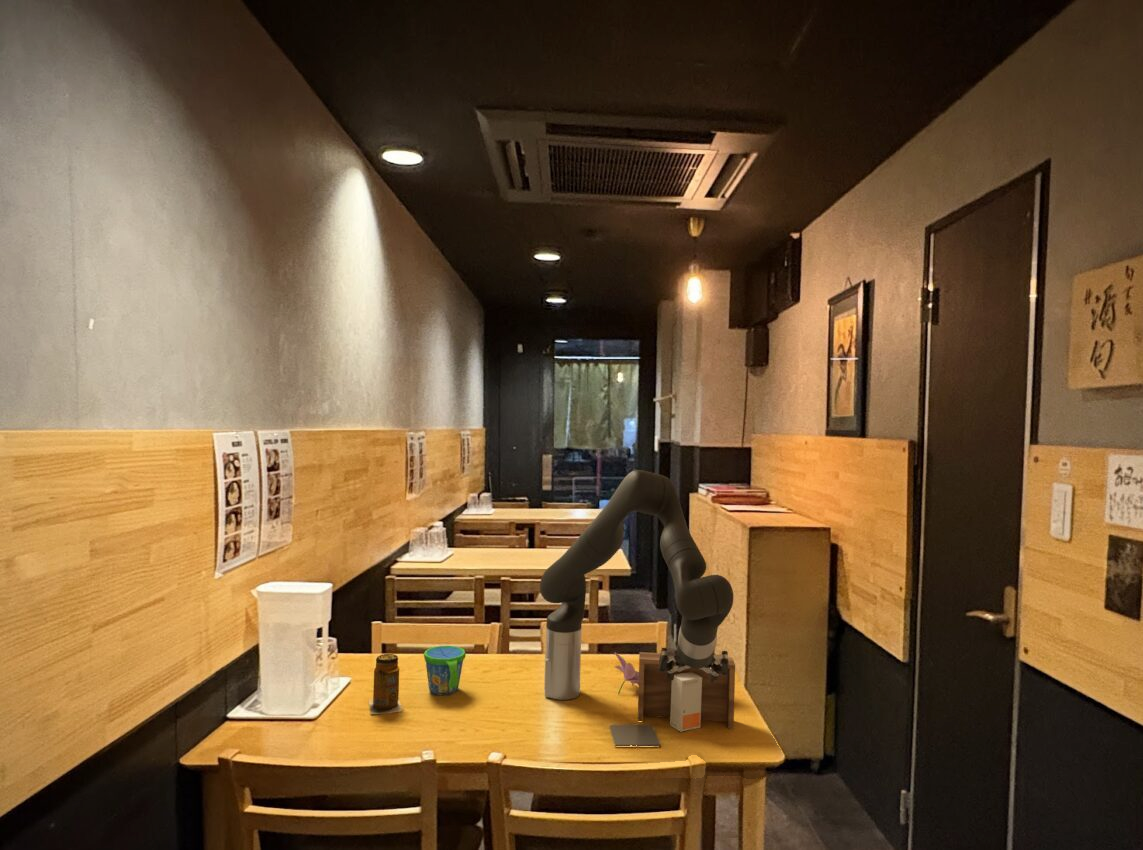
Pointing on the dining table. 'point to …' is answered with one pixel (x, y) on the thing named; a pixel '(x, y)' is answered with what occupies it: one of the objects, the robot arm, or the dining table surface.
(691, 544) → the robot arm
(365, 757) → the dining table surface
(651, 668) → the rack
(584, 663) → the dining table surface
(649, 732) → the coaster
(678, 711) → the skincare box
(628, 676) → the lily
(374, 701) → the condiment
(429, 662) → the snack cup
